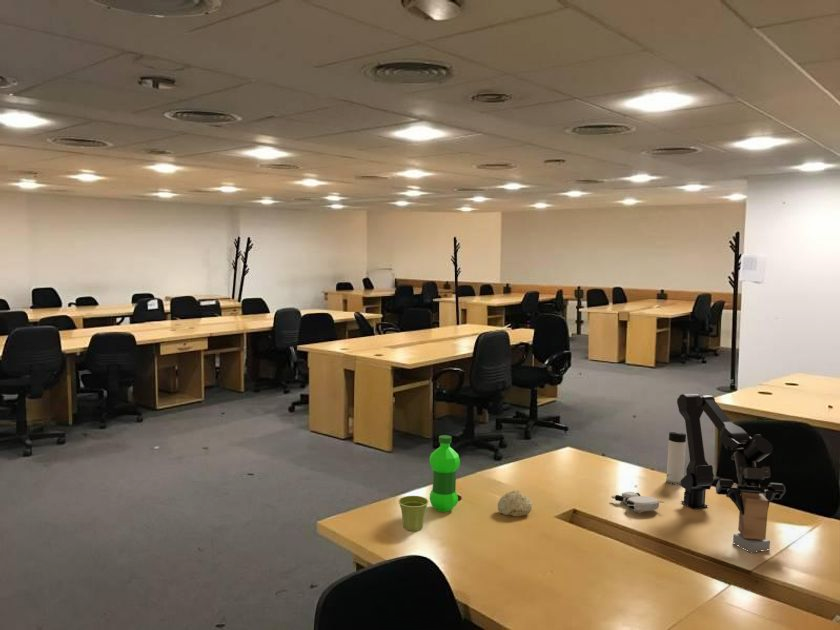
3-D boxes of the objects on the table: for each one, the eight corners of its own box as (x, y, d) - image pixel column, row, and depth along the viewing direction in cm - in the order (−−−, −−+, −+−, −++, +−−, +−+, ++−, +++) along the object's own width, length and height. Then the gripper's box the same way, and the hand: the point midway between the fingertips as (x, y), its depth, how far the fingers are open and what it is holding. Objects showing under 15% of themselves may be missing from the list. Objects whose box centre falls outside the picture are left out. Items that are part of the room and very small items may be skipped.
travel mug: (665, 483, 258) (667, 432, 257) (667, 478, 264) (670, 429, 262) (682, 486, 255) (685, 435, 254) (684, 481, 261) (687, 431, 259)
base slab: (750, 540, 207) (751, 531, 206) (769, 550, 200) (770, 540, 200) (733, 543, 204) (733, 534, 204) (751, 553, 198) (751, 543, 197)
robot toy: (608, 504, 237) (635, 517, 223) (608, 491, 237) (635, 503, 223) (637, 501, 241) (665, 513, 227) (637, 488, 241) (665, 500, 227)
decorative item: (519, 511, 216) (497, 491, 222) (511, 530, 220) (490, 510, 226) (542, 498, 223) (521, 479, 229) (535, 517, 227) (514, 498, 234)
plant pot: (424, 535, 205) (425, 507, 204) (394, 531, 207) (395, 504, 206) (430, 523, 214) (431, 497, 213) (401, 520, 216) (402, 494, 215)
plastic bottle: (463, 512, 224) (465, 439, 222) (434, 516, 220) (436, 442, 218) (451, 501, 233) (453, 431, 231) (423, 505, 230) (425, 434, 227)
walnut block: (738, 529, 205) (740, 491, 204) (759, 531, 204) (762, 493, 203) (743, 537, 200) (746, 499, 198) (765, 539, 198) (768, 500, 197)
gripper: (720, 453, 205) (727, 500, 196) (786, 458, 202) (796, 506, 192) (712, 469, 214) (719, 516, 204) (775, 474, 210) (785, 522, 201)
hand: (754, 515), depth 200 cm, fingers closed on walnut block, 6 cm apart
